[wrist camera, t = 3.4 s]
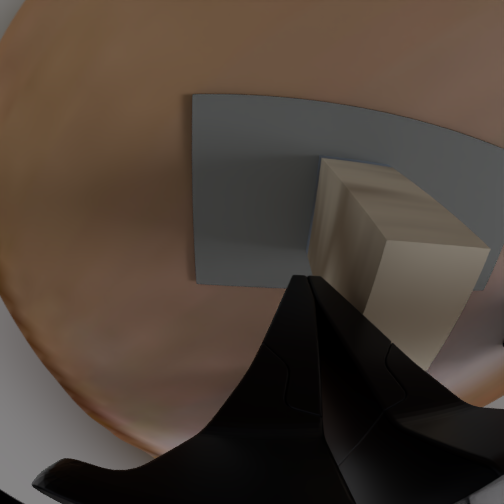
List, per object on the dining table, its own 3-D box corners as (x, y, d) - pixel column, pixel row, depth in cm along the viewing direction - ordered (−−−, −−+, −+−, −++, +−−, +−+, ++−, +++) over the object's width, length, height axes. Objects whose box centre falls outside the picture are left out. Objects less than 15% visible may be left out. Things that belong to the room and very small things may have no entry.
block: (368, 253, 16) (426, 370, 9) (305, 250, 16) (337, 379, 9) (388, 164, 13) (490, 249, 6) (319, 155, 13) (386, 240, 6)
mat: (481, 287, 17) (483, 290, 17) (197, 280, 17) (196, 283, 17) (525, 158, 12) (528, 160, 12) (193, 94, 12) (192, 94, 12)
